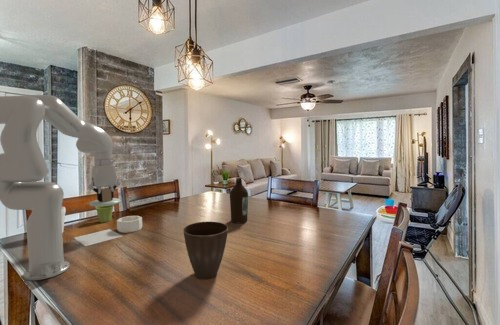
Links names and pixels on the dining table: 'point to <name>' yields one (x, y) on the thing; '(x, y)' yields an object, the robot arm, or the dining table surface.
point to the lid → (105, 199)
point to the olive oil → (239, 202)
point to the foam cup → (63, 217)
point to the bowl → (129, 224)
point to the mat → (97, 237)
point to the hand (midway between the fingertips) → (105, 200)
